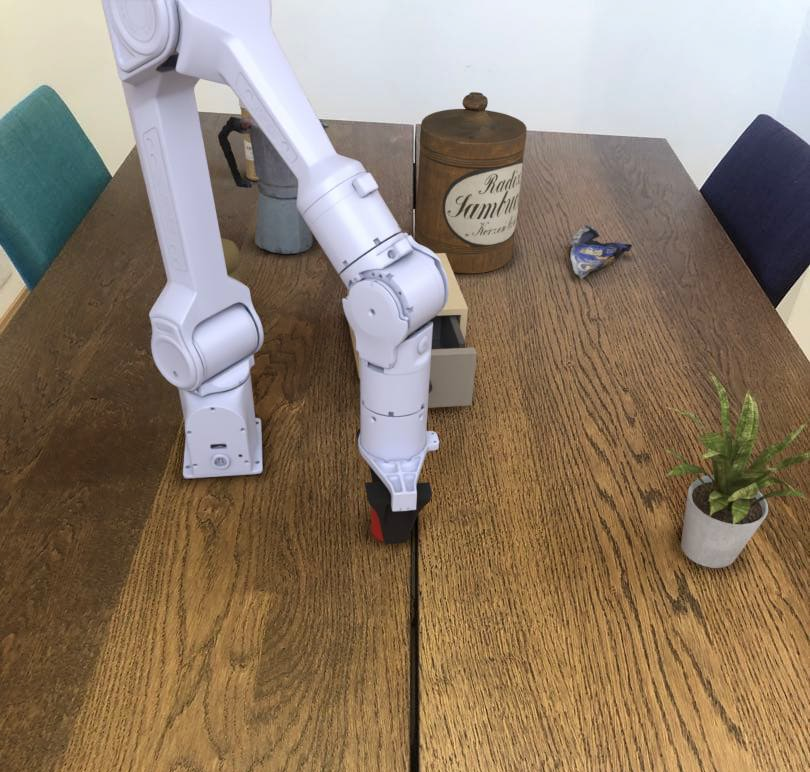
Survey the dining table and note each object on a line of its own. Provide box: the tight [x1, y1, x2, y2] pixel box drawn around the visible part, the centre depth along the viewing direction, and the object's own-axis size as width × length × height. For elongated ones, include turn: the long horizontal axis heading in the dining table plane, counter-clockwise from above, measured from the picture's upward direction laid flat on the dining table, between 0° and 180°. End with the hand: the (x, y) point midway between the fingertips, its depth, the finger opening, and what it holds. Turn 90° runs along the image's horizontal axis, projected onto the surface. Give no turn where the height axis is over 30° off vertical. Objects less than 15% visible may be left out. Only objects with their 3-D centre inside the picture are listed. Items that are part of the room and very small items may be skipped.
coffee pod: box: [370, 506, 384, 542], centre depth 77 cm, size 4×4×4 cm
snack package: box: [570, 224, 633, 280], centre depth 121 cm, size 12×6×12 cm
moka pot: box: [217, 116, 329, 255], centre depth 117 cm, size 10×15×20 cm, turn 112°
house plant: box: [658, 370, 810, 569], centre depth 73 cm, size 14×14×16 cm
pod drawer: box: [428, 315, 478, 409], centre depth 94 cm, size 15×11×7 cm
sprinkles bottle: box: [238, 99, 259, 182], centre depth 139 cm, size 5×5×13 cm
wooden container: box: [414, 91, 528, 275], centre depth 116 cm, size 15×15×22 cm
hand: (391, 518), depth 78 cm, fingers open, 6 cm apart
